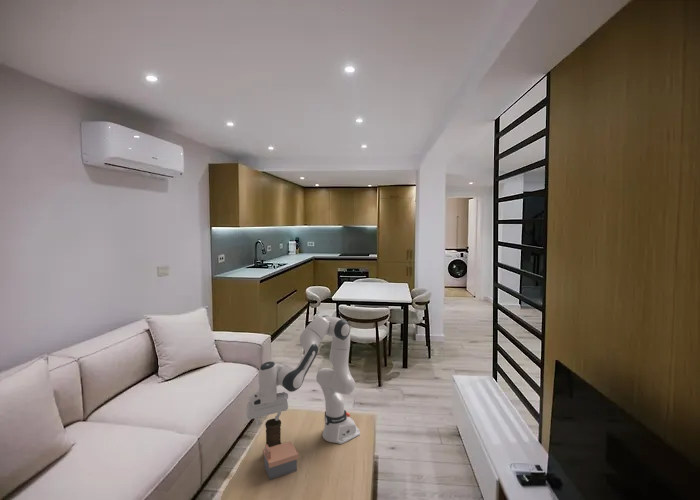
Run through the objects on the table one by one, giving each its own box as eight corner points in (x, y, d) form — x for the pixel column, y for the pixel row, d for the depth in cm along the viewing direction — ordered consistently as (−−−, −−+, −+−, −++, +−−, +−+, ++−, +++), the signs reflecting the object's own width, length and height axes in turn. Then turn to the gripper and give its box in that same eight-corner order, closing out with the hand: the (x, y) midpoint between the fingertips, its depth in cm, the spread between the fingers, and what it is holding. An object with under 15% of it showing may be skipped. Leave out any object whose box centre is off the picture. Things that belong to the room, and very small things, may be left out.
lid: (290, 445, 190) (290, 434, 189) (298, 458, 180) (298, 446, 179) (262, 453, 183) (262, 441, 182) (269, 468, 172) (269, 455, 172)
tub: (290, 458, 190) (290, 444, 189) (296, 470, 181) (296, 455, 180) (264, 467, 183) (264, 452, 182) (269, 479, 174) (269, 464, 173)
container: (277, 460, 188) (277, 428, 186) (262, 458, 190) (262, 426, 188) (284, 449, 197) (284, 418, 195) (269, 447, 199) (269, 416, 197)
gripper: (286, 388, 183) (285, 414, 184) (245, 397, 173) (245, 424, 174) (290, 393, 177) (289, 420, 178) (248, 403, 168) (248, 431, 169)
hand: (267, 422), depth 176 cm, fingers open, 8 cm apart
